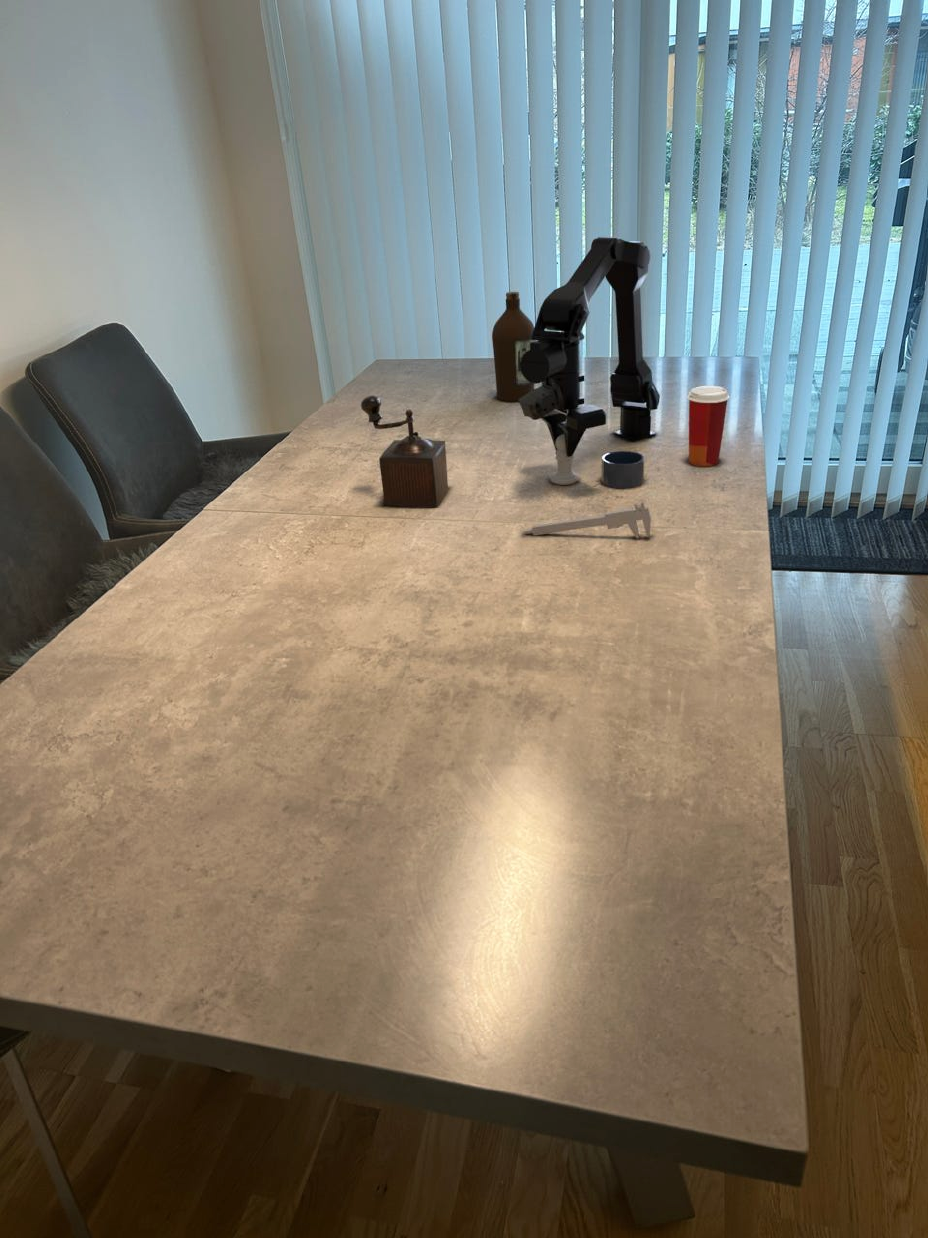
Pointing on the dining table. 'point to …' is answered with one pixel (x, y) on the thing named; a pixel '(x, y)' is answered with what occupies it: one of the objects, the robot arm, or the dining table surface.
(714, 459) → the paper cup
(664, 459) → the dining table surface
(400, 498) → the manual coffee grinder
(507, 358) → the olive oil
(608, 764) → the dining table surface
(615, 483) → the ceramic cup
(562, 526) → the caliper
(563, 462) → the chess piece
